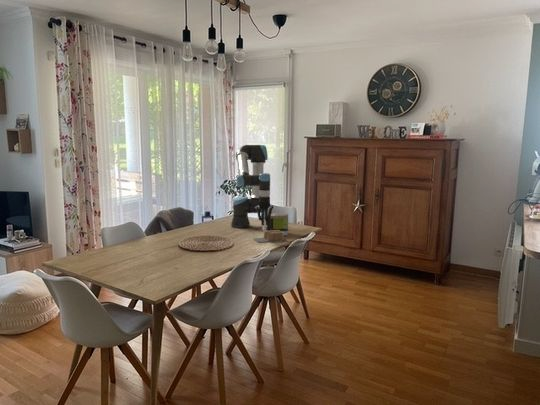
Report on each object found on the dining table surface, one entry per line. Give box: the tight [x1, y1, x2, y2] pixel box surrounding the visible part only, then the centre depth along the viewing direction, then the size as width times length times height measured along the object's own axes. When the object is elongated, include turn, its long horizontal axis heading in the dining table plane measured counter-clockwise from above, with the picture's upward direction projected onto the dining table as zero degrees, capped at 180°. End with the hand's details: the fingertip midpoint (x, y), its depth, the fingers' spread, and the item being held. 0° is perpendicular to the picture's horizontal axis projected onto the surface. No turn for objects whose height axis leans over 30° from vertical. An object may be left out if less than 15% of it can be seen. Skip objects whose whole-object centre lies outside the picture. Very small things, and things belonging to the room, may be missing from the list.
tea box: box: [266, 213, 289, 236], centre depth 292 cm, size 15×10×15 cm, turn 84°
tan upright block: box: [263, 230, 284, 241], centre depth 276 cm, size 9×5×11 cm
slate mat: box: [253, 237, 286, 244], centre depth 276 cm, size 10×20×1 cm, turn 112°
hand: (264, 229), depth 273 cm, fingers closed
